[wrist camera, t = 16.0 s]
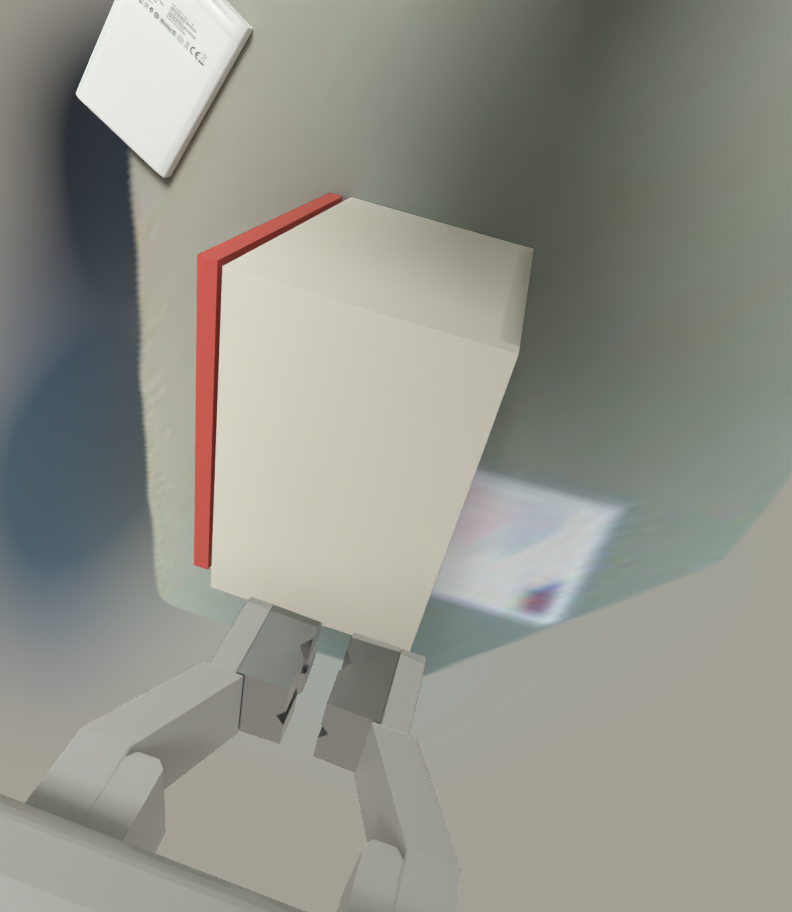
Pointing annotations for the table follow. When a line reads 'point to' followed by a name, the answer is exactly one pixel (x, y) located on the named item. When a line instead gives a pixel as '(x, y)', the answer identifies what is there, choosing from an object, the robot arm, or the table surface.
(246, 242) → the door
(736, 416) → the table surface
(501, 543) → the table surface
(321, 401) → the cabinet
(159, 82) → the external hard drive
